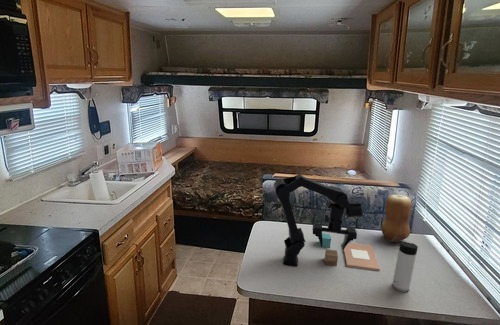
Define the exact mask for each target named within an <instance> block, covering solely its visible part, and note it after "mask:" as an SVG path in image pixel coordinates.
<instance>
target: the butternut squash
mask: <svg viewBox="0 0 500 325" xmlns="http://www.w3.org/2000/svg"><path fill="white" fill-rule="evenodd" d="M385 201H386V202H385V209H384V210H385V212H384V213H385V218H384V219H383V221H382V224H381V233H382V235H383V237H384V238H385V239H387V240H388V241H389V242H391V243H401V242H403V241H404V240H405V239H408V238H409V237H410V234H411V228H410V223H409V222H410V219H411V215H412V200H411V198H409V196H407V195H403V194H390V195H388V196H387V198H386V200H385Z"/></svg>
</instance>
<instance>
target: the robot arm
mask: <svg viewBox="0 0 500 325" xmlns="http://www.w3.org/2000/svg"><path fill="white" fill-rule="evenodd" d="M301 187H302V188H304V189H307V190H310V191H312V192H314V193H317V194H319V195H322V196H325V198H328V199H329V201H328V202H326V204H325V206H326V208H327V209H329V214H324V215H323V222H324V223H327V227H324V226H323V224H322V223H321V224H320V223H313V224H312V235H314V236H316V237H317V238H318V242H319V241H320V244H321V247H320V248H323V247H322V233H328V234H330V233H331V234H337V235H338V234H339V235H344V237H343V241H342V242H343V245H341V250H342V251H344V248H345V247H346V245H347V244H348V243H351V242H352V241H354V240H357V237H358V233H357V229H356V228H355V227H346V228H345V229H342V227H343V218H344V215H345V217H346V218H361V217H362V216H363V208H362V203H361V202H360V201H348V195H347V194H346V192H345V191H344V190H343V189H342V188H341V187H339V186H333V185H326V184H324V183H321V182H319V181H316V180H313V179H311V178H308V177H305V176H304V175H302V174H296V175H294V176H288V177H285V178H283V179H281V178H279V179H276V180H275V181H274V183H273V189H274V191H275V194H276V196H277V198H278V200H279V202H280V204H281V206H282V210H283V213H284V216H285V217H284V218H285V220H286V223H287V227H288V237H287V238H286V239H285V240H283V242H284V246H285V249H284V255H283V260H282V265H284V266H290V267H291V266H292V267H298V266H299V265H298V264H299V257H298V255H300V252H301V251H302V249H303V248H304V247H305V243H306V241H307V240H306V238H305V235H304V232H303V230H302V227H299V228H298V226H297V223H296V219H295V215H294V212H293V209H292V205H291V201H290V200H291V197H290V196H291V195H290V193H293V192H294V191H296V190H297V189H299V188H301Z"/></svg>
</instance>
